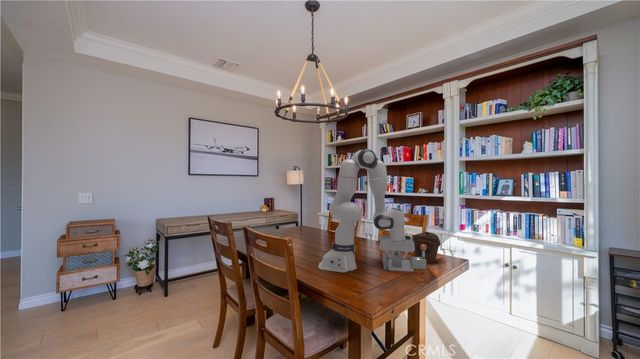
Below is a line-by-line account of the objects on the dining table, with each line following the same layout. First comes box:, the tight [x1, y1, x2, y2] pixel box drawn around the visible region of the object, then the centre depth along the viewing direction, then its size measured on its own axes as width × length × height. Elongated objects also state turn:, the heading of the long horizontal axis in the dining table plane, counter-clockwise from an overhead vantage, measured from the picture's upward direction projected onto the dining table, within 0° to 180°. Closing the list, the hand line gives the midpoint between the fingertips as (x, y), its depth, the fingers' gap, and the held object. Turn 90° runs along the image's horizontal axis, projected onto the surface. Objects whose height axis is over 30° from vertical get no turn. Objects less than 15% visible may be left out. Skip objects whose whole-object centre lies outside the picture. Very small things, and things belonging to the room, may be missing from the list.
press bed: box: [382, 251, 415, 272], centre depth 161 cm, size 16×16×6 cm
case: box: [411, 231, 442, 264], centre depth 173 cm, size 18×20×18 cm
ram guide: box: [409, 256, 427, 270], centre depth 159 cm, size 8×6×5 cm
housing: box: [391, 251, 403, 266], centre depth 161 cm, size 5×8×8 cm, turn 171°
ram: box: [413, 244, 426, 260], centre depth 159 cm, size 8×3×10 cm, turn 81°
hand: (396, 258), depth 161 cm, fingers open, 7 cm apart
